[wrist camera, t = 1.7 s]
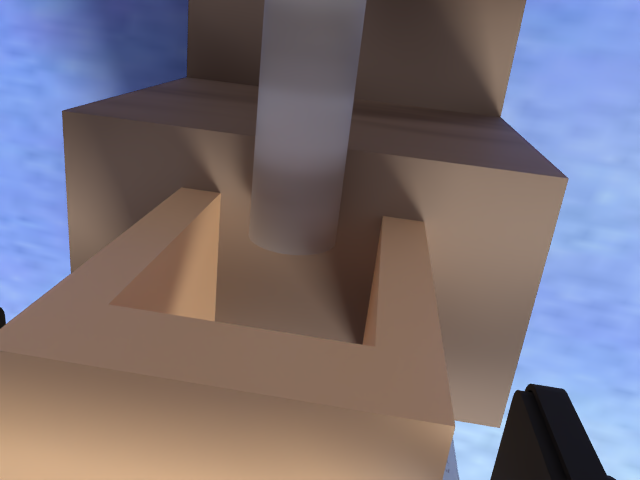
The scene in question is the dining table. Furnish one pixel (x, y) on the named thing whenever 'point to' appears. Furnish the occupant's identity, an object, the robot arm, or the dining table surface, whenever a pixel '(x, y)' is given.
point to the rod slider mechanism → (338, 169)
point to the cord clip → (219, 370)
